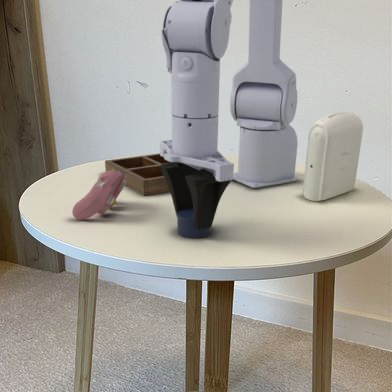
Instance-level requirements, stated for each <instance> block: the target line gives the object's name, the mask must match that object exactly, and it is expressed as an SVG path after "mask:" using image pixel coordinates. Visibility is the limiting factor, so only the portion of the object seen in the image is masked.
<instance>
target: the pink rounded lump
mask: <svg viewBox="0 0 392 392" xmlns="http://www.w3.org/2000/svg"><path fill="white" fill-rule="evenodd" d="M126 181H127V176H126V175H124V173H122V172H119V171H118V172H116V171H115V170H114V169H113V170H112V171H106V170H105V171H103V172H101V173H100V174H99V176H98V178H97V180H96V182H95V183H94V184H93V186H92V187H91V189H90V191H89V192H88V193H87V194H86V195H85V196H83V197H82V198H81V199H80V200H78V201H77V202H76V203H75V204H74V206H73V208H72V212H71V214H72V216H73V217H74V218H75V219H76V220H79V221H80V220H88V219H89V218H92V217H93V216H94V215H96V214H99V215H100V216H104V215H106V214H105V213H106V212H107V210H108V209H109V210H110V209H112V207H113V206H115V205H116V204H117V199H118V197H119V196H120V194H121V193H122V191H123V190H124V188H125V186H126V185H125V183H126Z"/></svg>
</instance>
